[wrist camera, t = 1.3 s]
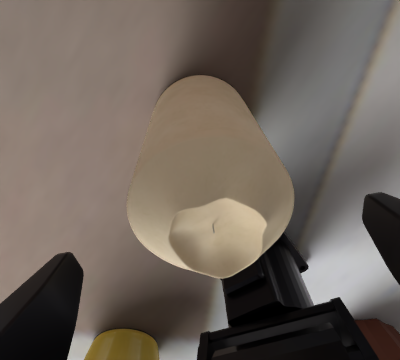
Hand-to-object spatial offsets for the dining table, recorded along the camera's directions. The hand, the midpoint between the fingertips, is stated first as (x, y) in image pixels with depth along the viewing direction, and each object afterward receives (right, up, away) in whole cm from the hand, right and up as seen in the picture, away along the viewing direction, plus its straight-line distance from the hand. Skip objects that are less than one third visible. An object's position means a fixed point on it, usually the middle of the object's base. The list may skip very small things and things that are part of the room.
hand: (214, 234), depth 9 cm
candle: (0, +5, +8) cm, 10 cm away
